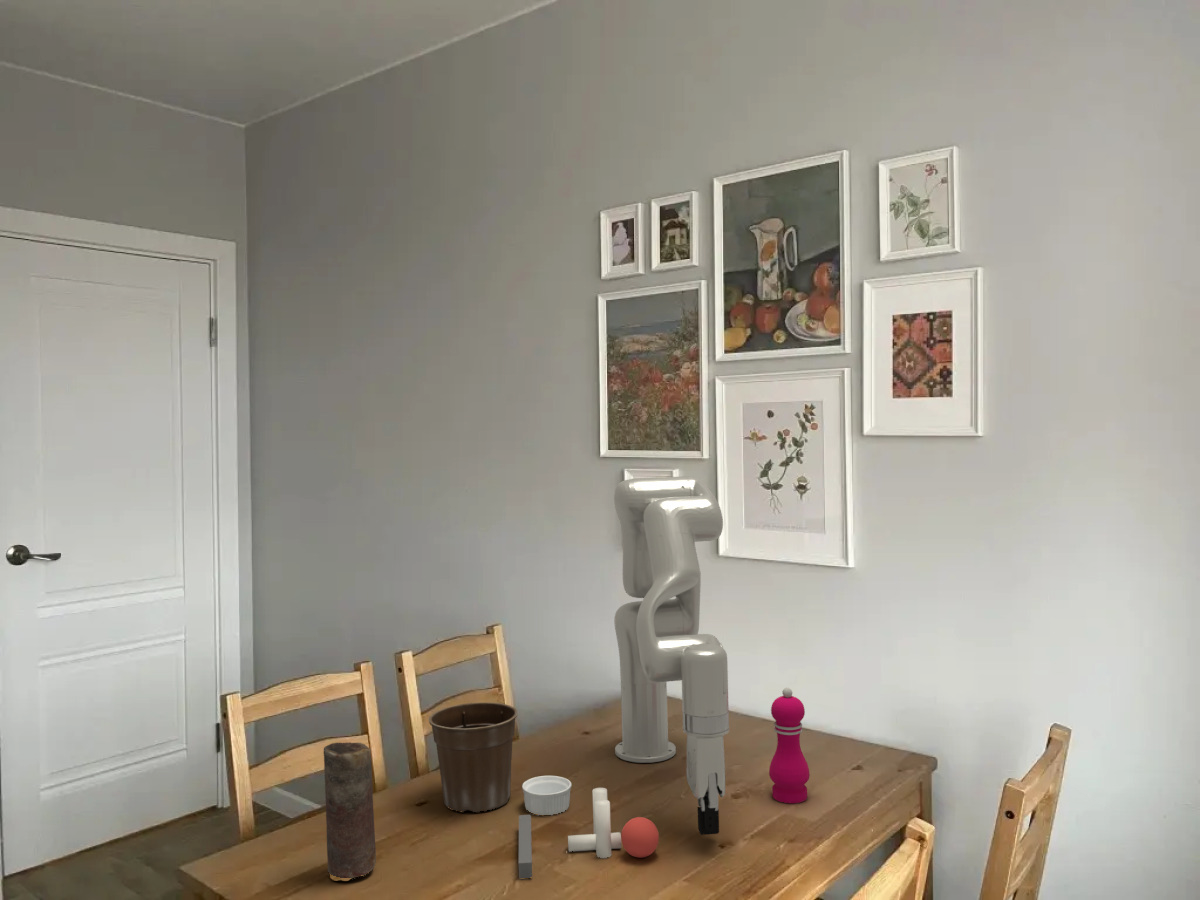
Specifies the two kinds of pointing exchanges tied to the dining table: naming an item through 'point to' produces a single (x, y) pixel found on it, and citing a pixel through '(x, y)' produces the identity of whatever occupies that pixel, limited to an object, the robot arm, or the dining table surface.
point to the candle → (349, 809)
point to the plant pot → (475, 754)
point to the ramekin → (546, 794)
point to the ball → (640, 837)
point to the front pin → (590, 842)
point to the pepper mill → (788, 750)
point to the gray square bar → (525, 847)
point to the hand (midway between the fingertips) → (708, 832)
